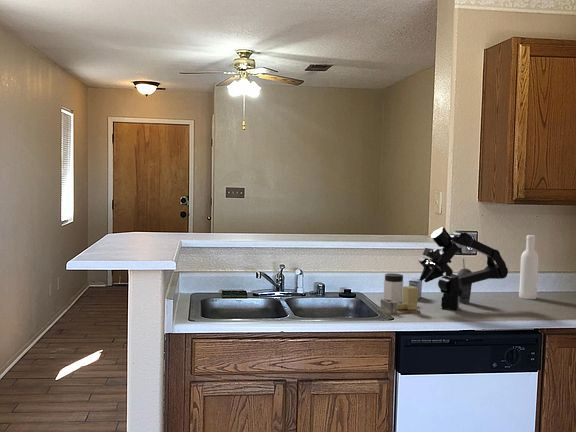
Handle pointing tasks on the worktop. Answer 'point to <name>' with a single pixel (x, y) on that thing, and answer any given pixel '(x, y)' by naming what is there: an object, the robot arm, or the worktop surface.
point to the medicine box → (416, 285)
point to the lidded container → (393, 287)
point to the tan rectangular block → (409, 298)
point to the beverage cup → (465, 287)
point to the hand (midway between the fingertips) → (422, 280)
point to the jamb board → (394, 308)
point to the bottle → (529, 270)
